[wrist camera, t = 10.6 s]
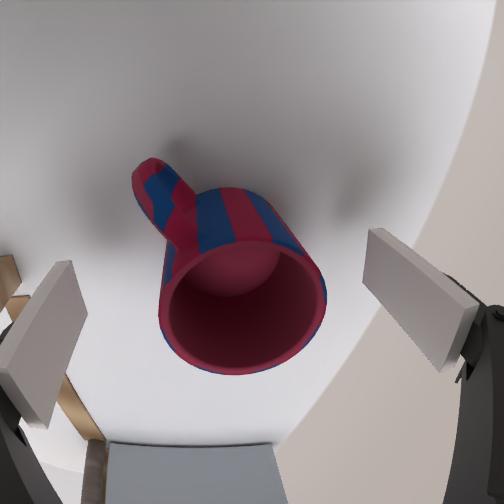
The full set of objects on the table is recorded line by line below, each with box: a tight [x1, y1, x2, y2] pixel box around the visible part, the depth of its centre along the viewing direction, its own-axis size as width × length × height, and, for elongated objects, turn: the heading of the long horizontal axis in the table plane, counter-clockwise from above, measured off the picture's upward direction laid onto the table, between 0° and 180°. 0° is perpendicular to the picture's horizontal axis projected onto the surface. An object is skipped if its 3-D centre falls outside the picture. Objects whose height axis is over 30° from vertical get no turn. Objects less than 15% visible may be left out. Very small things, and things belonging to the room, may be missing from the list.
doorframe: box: [0, 255, 109, 504], centre depth 15 cm, size 26×2×15 cm, turn 2°
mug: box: [132, 158, 327, 375], centre depth 15 cm, size 7×10×7 cm
